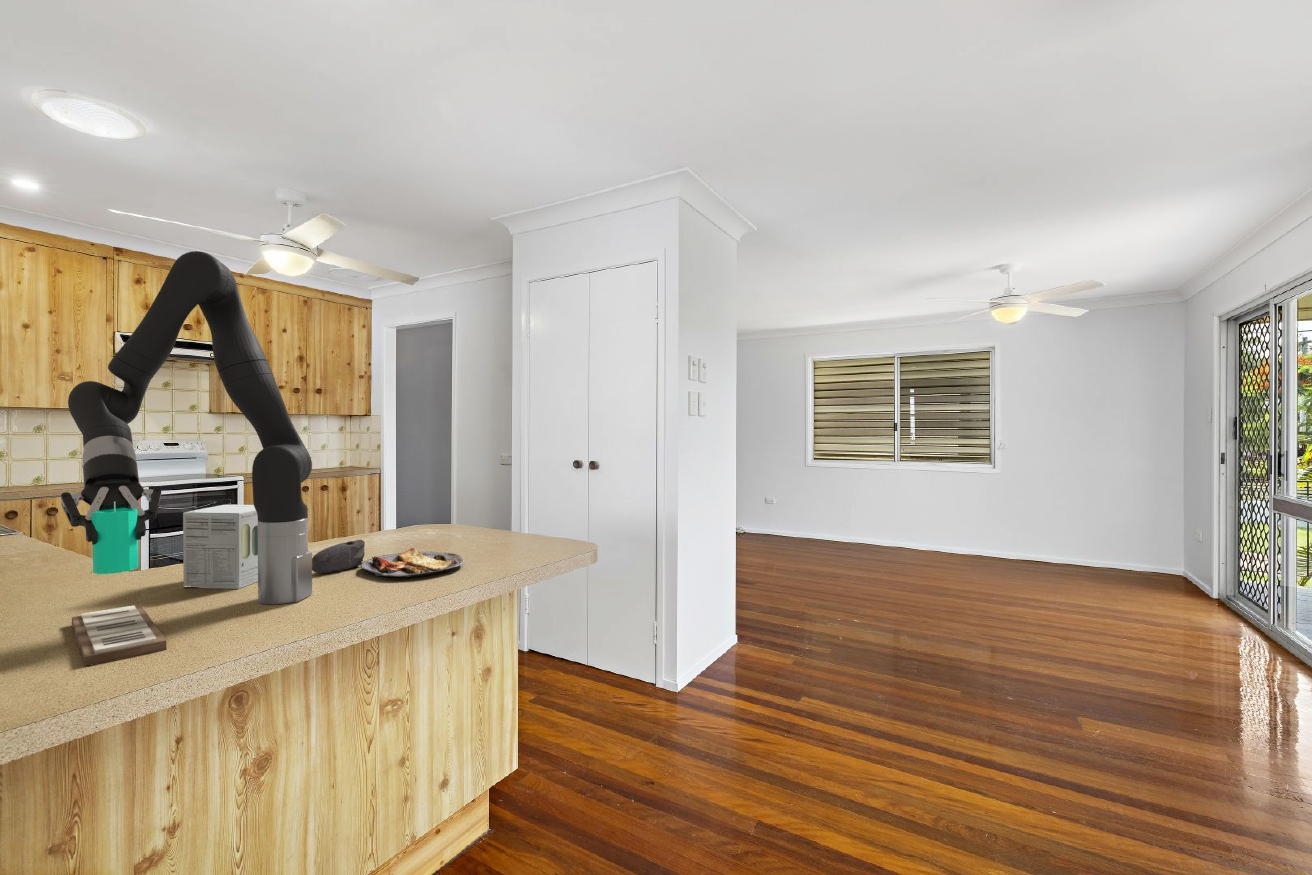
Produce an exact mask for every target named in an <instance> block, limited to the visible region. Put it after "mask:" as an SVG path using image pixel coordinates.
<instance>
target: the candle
mask: <svg viewBox="0 0 1312 875" xmlns="http://www.w3.org/2000/svg"><path fill="white" fill-rule="evenodd" d="M92 522H93V525H94V527H95V529H96V531H97V533H98V542H97V543H96V544H93V545H92V544H91V546H92V547H91V548H92V573H93V574H95V575H108V574H109V575H110V574H111V575H112V574H120V573H125V572H131V571H133V570H136V569H138V568H139V567H140V566H139V540H136V522H137V509H133V510H131V509H128V508H117V509H115V502H114V509H109V510H101V511H99V512H94V513H92Z"/></svg>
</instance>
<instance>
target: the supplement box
mask: <svg viewBox="0 0 1312 875" xmlns="http://www.w3.org/2000/svg"><path fill="white" fill-rule="evenodd" d="M182 517H183V518H182V521H183V522H182V528H183V529H182V546H183V547H182V548H183V551H182V552H183V556H182V557H183V562H182V563H183V571H182V572H183V581H182V583H183V587H184V586H191V587H200V588H199V589H218V590H219V589H220V590H221V589H226V590H239V589H243V588H244V587H247V586H250V585H252V584H255V583H258V517H257V512H256V510H255V507H254V504H222V505H221V504H220V505H215V506H211V507H203V508H199V509H195V510H189V511H185V512H183V513H182Z"/></svg>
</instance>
